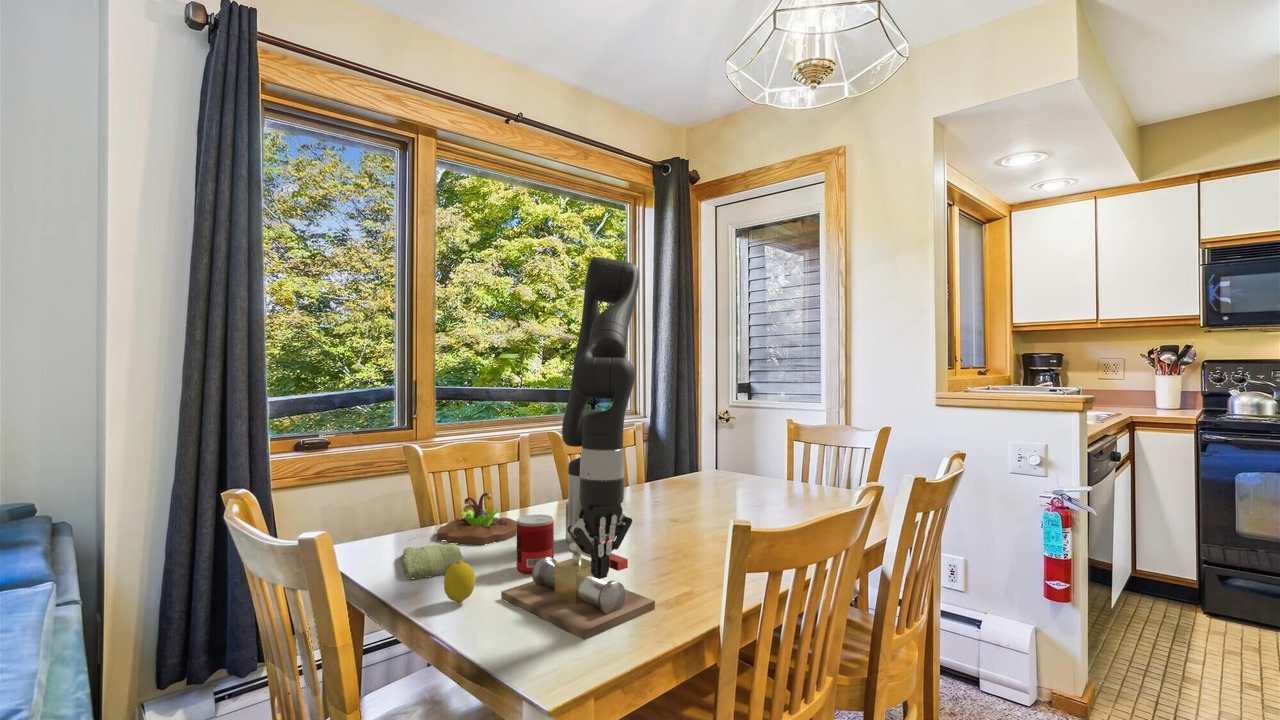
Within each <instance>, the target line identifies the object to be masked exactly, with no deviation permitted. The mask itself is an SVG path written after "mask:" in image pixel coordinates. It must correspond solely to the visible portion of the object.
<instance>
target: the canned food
mask: <svg viewBox="0 0 1280 720" xmlns="http://www.w3.org/2000/svg"><path fill="white" fill-rule="evenodd" d="M516 521H517V533H516V569H517V572H519V573H520V574H522V573H523V575H527V574H532V571H533V567H534V565H535V563H536V562H537V561H538V560H539V559H540V558H542V557H546V556H547V557H550V558H553V559H554V553H555V552H554V550H555V549H554V542H555V541H554V540H555V538H554V537H555V536H554V535H555V531H554V530H555V529H554V527H555V523H554V522H555V521H554V517H553V516H552V515H549V514H528V515H523V516H520V517H518V518H517V519H516Z"/></svg>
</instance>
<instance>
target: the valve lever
mask: <svg viewBox="0 0 1280 720" xmlns="http://www.w3.org/2000/svg"><path fill="white" fill-rule="evenodd" d="M568 544H569V545H568V546H569V548H568V550H569V552H570V553H572V554H573V553H579V554H581V556H585V557H587V558H590V559H591V555H589V554H587V553H584V552H582V551H581V549H580V548H579V547H578V545H577V544H576V542H573V543H568ZM628 562H629V561H628V558H626V557H622V556H621V555H619V554H618V555H617V554H615V553H612V552H611V554H610V555H609V569H613V570H614V571H617V572H620V571H621V570H625V569H628V568H629V567H628V566H629V565H628Z"/></svg>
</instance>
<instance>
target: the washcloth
mask: <svg viewBox="0 0 1280 720" xmlns="http://www.w3.org/2000/svg"><path fill="white" fill-rule="evenodd" d="M400 560H402V561H401V564H402V569H403V572H404V574H405V576H406V575H407V576H406V579H407V578H409V579H408V580H413V579H412V578H417V579H420V578H419V577H423V578H430V577H429V576H432V577H434V576H433V575H437V576H442V575H441V574H446V572H447V570H448V568H449V567H450V566H451V565H453V564H454V563H456V562H457V561H459V560H461V561H462V562H465V559H464V558H463V556H462V553H461V549H460V547H459V546H458V544H428V545H424V546H421V547H412V546H408V547H406V548H404V549H403V552H402V555H400ZM465 563H466V562H465ZM426 576H428V577H426Z"/></svg>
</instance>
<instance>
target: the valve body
mask: <svg viewBox="0 0 1280 720" xmlns="http://www.w3.org/2000/svg"><path fill="white" fill-rule="evenodd" d="M531 578H532V581H534V583H535V584H537V585H539V586H542V585H547V586H550V587H552V588H554V589H555V596H556V597H559V598H561V599H563V600H566V601H568V602H570V603H573V604H575V605H577V604H579V603H582V602H584V601H585V602H588V603H590V604H592V605H595V606H597V607H599V609H600V611H601V612H602V613H604V614H610V613H612V612H615V611H617V610H619V609H621V608H622V607H623V605H624V602H625V597H626V592H625V590H626V588H625V587H624V586H625V585H624V584H622V583H621V582H620V581H616V580H610V581H606V580H603V579H597V578H595V577H594V576H593V574H592V573H591V560H589V559H586V558H583V557H582V554H579V553H572V558H569V559H565V560H562V561H559V562H557V560H556V559H555V558H554V557H553V558H550V557H547V556H546V557H542V558H540V559H539V560H538V561H537V562H536V563H535V565H534V567H533V571H532V575H531Z"/></svg>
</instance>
